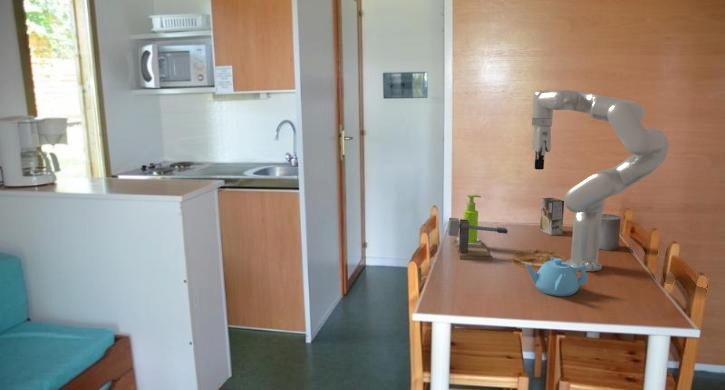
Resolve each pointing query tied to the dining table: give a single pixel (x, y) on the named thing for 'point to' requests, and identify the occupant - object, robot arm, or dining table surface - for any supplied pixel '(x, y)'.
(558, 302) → the dining table surface
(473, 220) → the soap dispenser
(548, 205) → the coffee box
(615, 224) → the pillar candle
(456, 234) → the lever
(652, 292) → the dining table surface
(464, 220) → the base
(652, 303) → the dining table surface
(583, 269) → the teapot
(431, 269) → the dining table surface
